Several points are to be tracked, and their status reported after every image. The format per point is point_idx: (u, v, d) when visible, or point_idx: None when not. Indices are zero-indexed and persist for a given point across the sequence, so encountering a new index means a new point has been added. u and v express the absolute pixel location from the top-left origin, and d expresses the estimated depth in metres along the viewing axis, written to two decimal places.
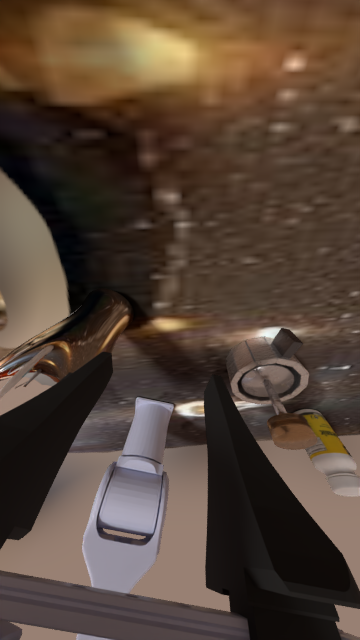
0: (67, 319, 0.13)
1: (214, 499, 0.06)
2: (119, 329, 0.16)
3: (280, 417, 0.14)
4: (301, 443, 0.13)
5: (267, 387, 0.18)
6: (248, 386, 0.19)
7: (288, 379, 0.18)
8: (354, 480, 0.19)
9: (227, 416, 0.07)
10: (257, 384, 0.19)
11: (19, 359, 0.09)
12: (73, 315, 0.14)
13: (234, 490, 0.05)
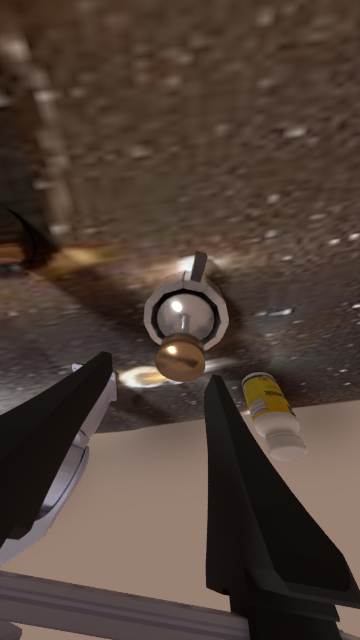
0: None
1: (214, 499, 0.06)
2: (2, 242, 0.14)
3: (166, 338, 0.11)
4: (189, 368, 0.10)
5: (180, 323, 0.15)
6: (166, 328, 0.16)
7: (207, 315, 0.15)
8: (291, 439, 0.16)
9: (227, 416, 0.07)
10: (176, 325, 0.16)
11: None
12: None
13: (234, 490, 0.05)
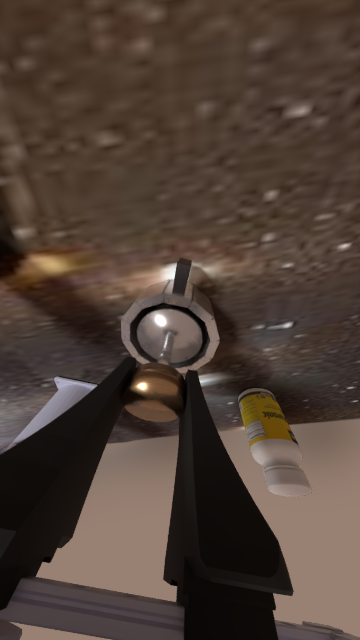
0: None
1: (176, 492, 0.06)
2: None
3: (137, 370, 0.09)
4: (163, 408, 0.08)
5: (162, 343, 0.13)
6: (148, 346, 0.14)
7: (194, 332, 0.13)
8: (292, 474, 0.14)
9: (193, 409, 0.07)
10: (159, 343, 0.14)
11: None
12: None
13: (188, 481, 0.05)
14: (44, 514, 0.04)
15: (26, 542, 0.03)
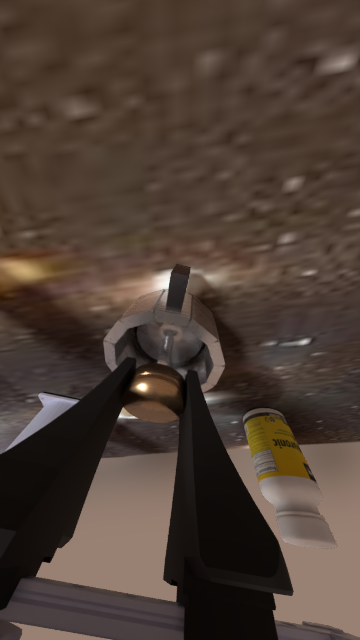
0: None
1: (176, 492, 0.06)
2: None
3: (136, 370, 0.09)
4: (163, 409, 0.08)
5: (162, 343, 0.13)
6: (148, 347, 0.14)
7: None
8: (313, 525, 0.12)
9: (193, 409, 0.07)
10: (159, 343, 0.14)
11: None
12: None
13: (188, 481, 0.05)
14: (44, 514, 0.04)
15: (26, 542, 0.03)
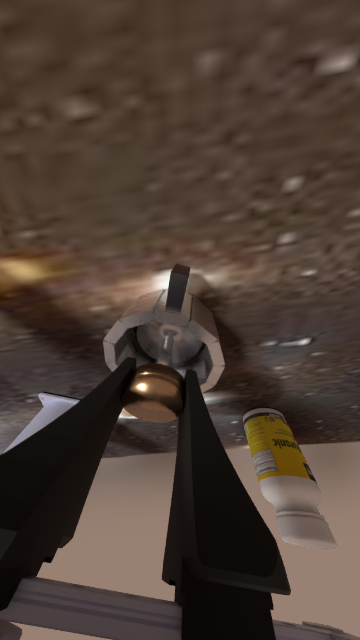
0: None
1: (175, 491, 0.06)
2: None
3: (136, 370, 0.09)
4: (163, 409, 0.08)
5: (162, 343, 0.13)
6: (148, 347, 0.14)
7: None
8: (313, 525, 0.12)
9: (192, 409, 0.07)
10: (158, 343, 0.14)
11: None
12: None
13: (186, 481, 0.05)
14: (45, 514, 0.04)
15: (27, 542, 0.03)
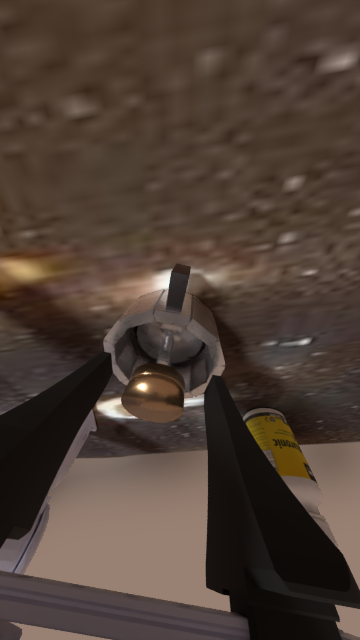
0: None
1: (214, 499, 0.06)
2: None
3: (136, 370, 0.09)
4: (163, 409, 0.08)
5: (162, 343, 0.13)
6: (148, 347, 0.14)
7: None
8: None
9: (227, 416, 0.07)
10: (159, 343, 0.14)
11: None
12: None
13: (234, 490, 0.05)
14: None
15: None
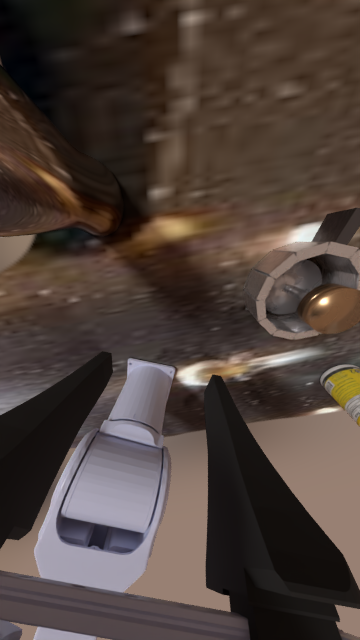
0: None
1: (214, 499, 0.06)
2: (100, 194, 0.11)
3: (317, 289, 0.11)
4: (347, 316, 0.11)
5: (291, 289, 0.15)
6: (266, 298, 0.17)
7: (315, 281, 0.15)
8: None
9: (227, 416, 0.07)
10: (278, 294, 0.16)
11: None
12: None
13: (234, 490, 0.05)
14: None
15: None
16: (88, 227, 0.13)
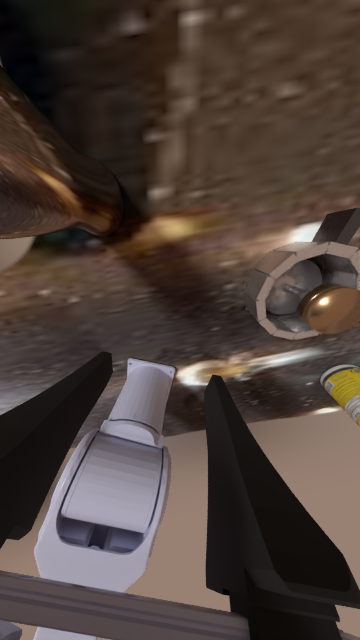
0: None
1: (214, 499, 0.06)
2: (100, 195, 0.11)
3: (317, 289, 0.11)
4: (347, 316, 0.11)
5: (291, 289, 0.15)
6: (266, 298, 0.17)
7: (315, 281, 0.15)
8: None
9: (227, 416, 0.07)
10: (278, 294, 0.16)
11: None
12: None
13: (234, 490, 0.05)
14: None
15: None
16: (89, 227, 0.13)
